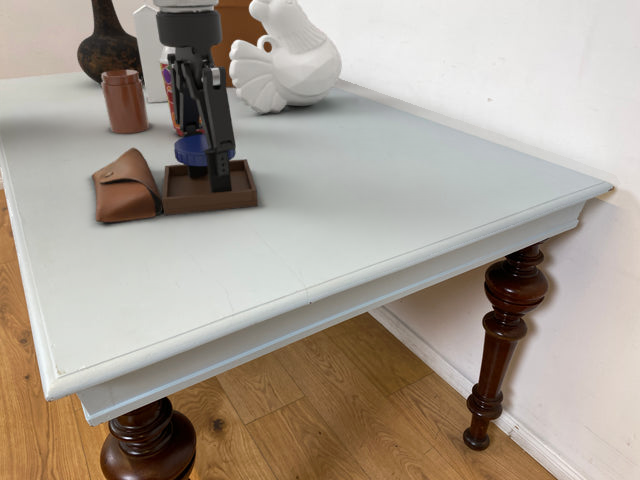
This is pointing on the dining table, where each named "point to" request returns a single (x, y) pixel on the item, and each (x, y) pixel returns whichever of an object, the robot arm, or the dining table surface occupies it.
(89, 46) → the dark brown vase
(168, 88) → the smoothie
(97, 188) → the sunglasses case
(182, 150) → the lid
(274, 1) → the decorative rooster
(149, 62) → the milk
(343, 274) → the dining table surface
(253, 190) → the tray
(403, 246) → the dining table surface
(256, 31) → the flowerpot
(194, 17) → the robot arm
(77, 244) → the dining table surface
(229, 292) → the dining table surface
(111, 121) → the jar
